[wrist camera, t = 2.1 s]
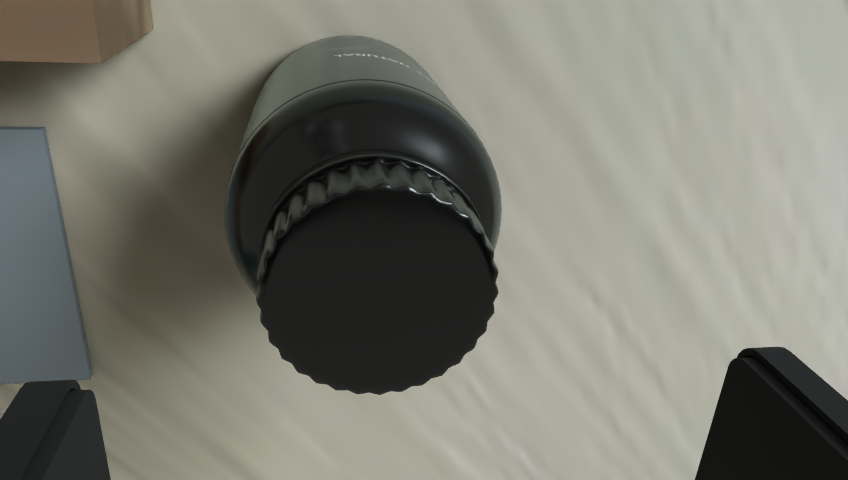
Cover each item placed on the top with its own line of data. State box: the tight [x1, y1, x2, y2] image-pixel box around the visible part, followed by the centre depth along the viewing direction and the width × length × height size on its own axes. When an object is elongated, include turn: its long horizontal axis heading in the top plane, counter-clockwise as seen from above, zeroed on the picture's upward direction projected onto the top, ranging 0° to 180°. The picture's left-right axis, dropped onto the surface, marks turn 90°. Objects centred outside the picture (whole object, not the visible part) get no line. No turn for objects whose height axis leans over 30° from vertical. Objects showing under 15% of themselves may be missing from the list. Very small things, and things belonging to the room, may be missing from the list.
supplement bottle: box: [225, 36, 502, 395], centre depth 18 cm, size 7×7×12 cm
